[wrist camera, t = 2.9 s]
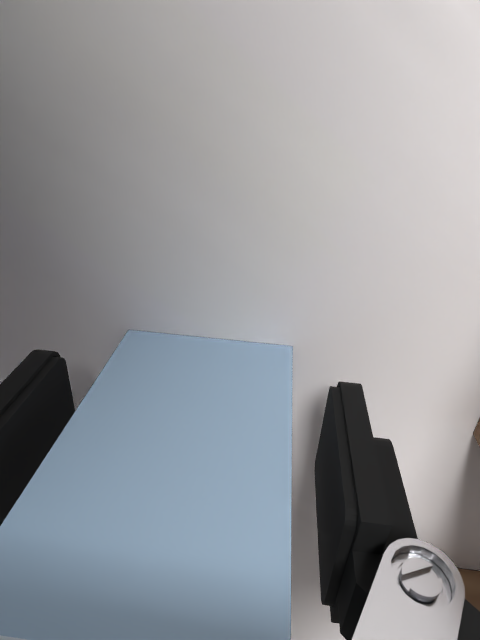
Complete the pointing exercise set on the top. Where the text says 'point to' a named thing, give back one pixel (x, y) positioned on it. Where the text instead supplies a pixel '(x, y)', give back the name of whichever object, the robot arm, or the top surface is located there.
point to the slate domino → (161, 502)
